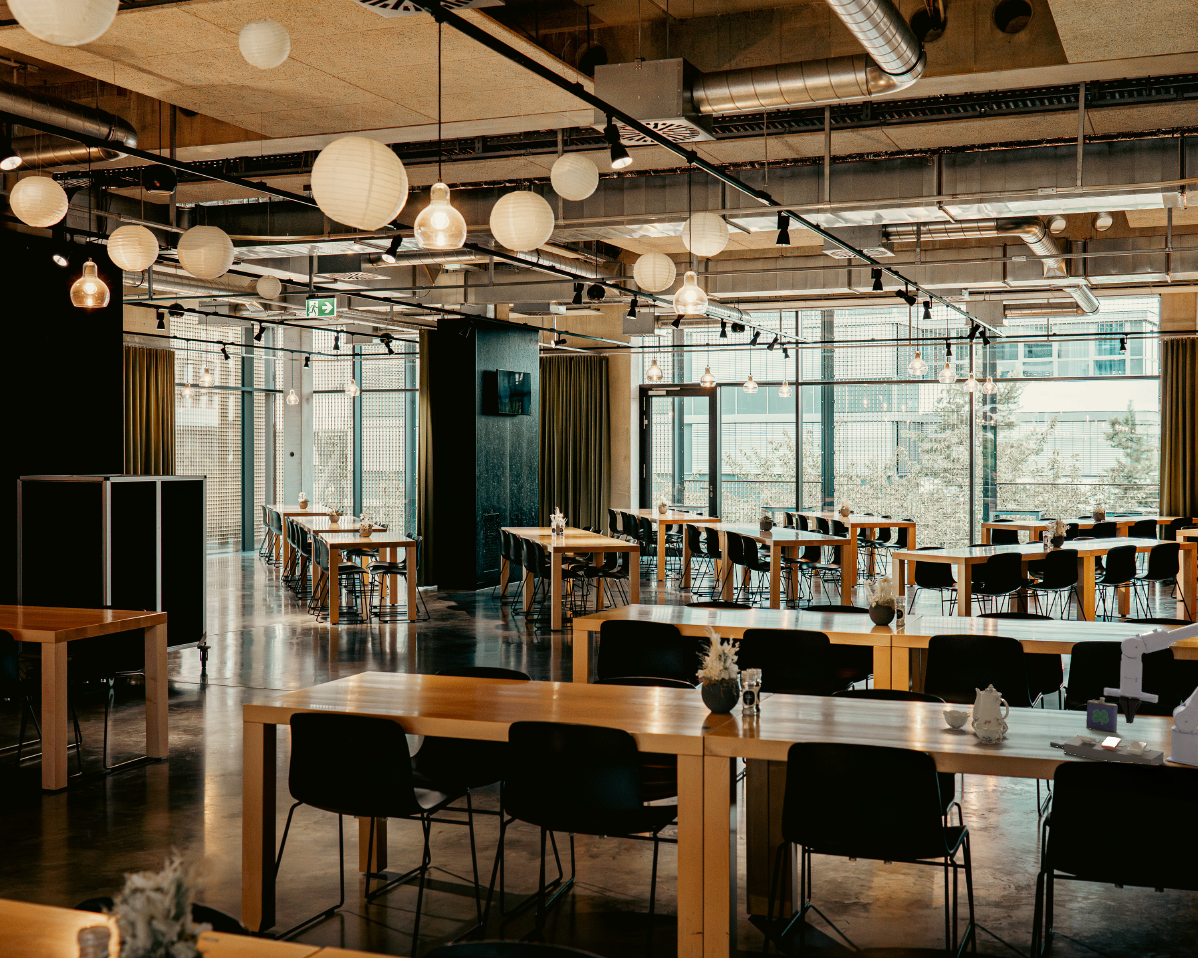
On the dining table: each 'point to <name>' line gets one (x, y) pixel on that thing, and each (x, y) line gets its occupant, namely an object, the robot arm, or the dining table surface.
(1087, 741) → the rocker
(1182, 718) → the robot arm
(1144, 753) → the power strip
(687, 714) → the dining table surface
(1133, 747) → the rocker
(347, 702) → the dining table surface
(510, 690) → the dining table surface
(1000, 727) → the chinaware
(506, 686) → the dining table surface
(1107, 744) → the rocker middle
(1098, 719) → the dark blue box
